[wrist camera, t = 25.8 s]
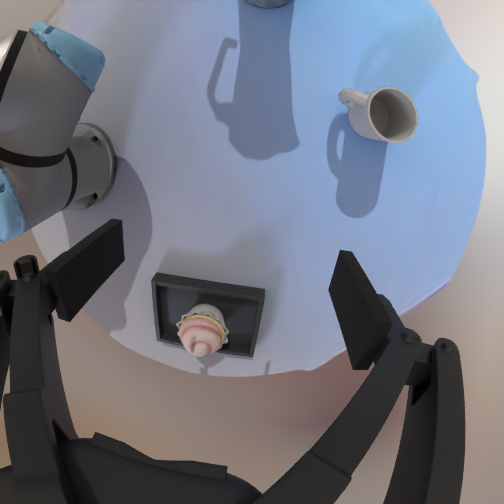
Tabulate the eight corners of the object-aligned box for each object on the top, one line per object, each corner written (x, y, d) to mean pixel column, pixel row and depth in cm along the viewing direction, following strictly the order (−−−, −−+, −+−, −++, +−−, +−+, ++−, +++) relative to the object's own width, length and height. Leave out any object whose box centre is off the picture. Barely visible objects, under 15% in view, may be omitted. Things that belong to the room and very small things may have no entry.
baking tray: (160, 332, 54) (156, 340, 51) (156, 272, 48) (151, 280, 45) (253, 347, 54) (253, 357, 52) (264, 288, 48) (264, 297, 45)
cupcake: (206, 286, 47) (193, 322, 38) (241, 320, 50) (236, 359, 41) (173, 311, 50) (156, 347, 41) (207, 341, 53) (197, 378, 44)
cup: (379, 147, 37) (405, 153, 28) (322, 116, 35) (337, 112, 27) (396, 109, 34) (425, 107, 26) (341, 76, 32) (359, 64, 24)
